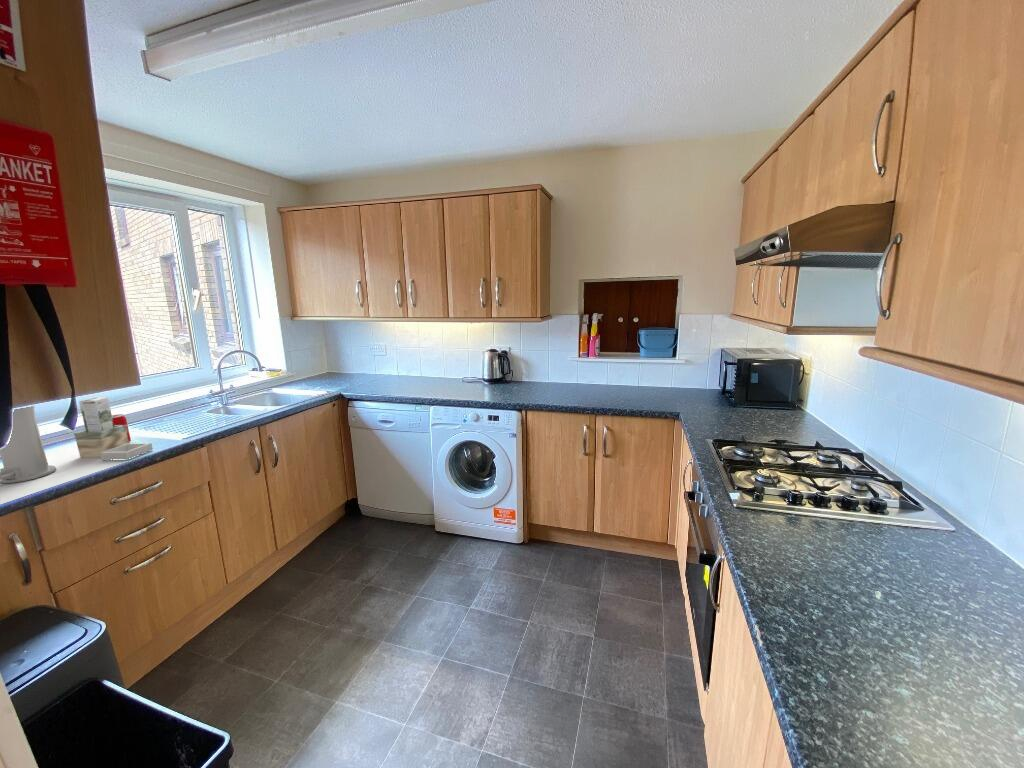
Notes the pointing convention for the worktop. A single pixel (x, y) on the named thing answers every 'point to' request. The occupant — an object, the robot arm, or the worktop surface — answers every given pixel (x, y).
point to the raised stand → (100, 441)
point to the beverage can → (121, 422)
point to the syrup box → (96, 414)
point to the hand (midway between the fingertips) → (50, 372)
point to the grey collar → (126, 451)
